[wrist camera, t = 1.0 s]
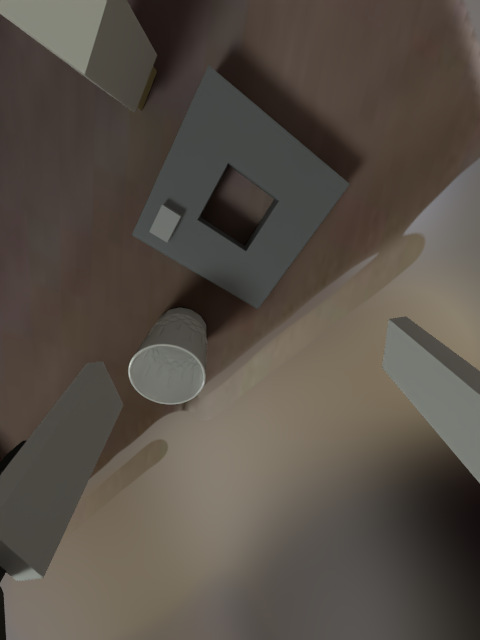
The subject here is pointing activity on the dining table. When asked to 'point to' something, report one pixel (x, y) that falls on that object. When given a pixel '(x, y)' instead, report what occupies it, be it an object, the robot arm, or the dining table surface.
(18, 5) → the plug
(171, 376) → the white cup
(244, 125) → the socket plate
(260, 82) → the dining table surface
